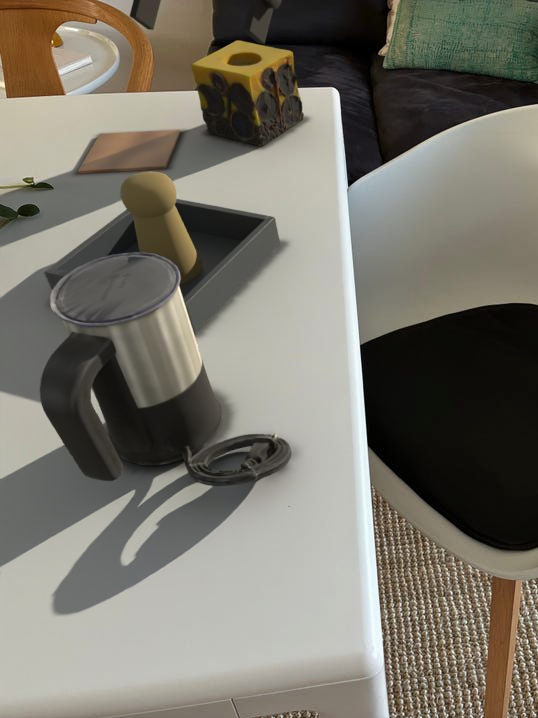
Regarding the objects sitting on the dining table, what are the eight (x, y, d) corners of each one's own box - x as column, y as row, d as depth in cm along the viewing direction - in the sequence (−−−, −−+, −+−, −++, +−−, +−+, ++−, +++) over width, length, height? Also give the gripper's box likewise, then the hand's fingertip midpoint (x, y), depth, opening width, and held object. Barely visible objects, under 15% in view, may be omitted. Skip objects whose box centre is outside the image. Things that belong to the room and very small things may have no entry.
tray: (57, 302, 80) (43, 271, 77) (156, 221, 92) (147, 193, 89) (195, 334, 76) (185, 303, 73) (281, 246, 88) (275, 216, 85)
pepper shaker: (147, 292, 81) (113, 198, 73) (141, 262, 85) (108, 170, 78) (206, 278, 82) (179, 185, 75) (197, 250, 87) (171, 158, 79)
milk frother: (128, 391, 70) (70, 252, 60) (305, 382, 71) (276, 243, 61) (79, 520, 59) (-2, 376, 49) (288, 507, 60) (249, 363, 50)
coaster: (78, 173, 101) (77, 170, 101) (100, 136, 109) (99, 133, 109) (165, 168, 102) (165, 166, 101) (180, 132, 110) (180, 129, 110)
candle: (251, 107, 116) (237, 38, 110) (306, 119, 113) (295, 50, 106) (205, 134, 109) (187, 63, 103) (262, 148, 106) (248, 75, 99)
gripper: (372, -142, 79) (322, 60, 78) (170, -151, 86) (123, 35, 85) (339, -199, 72) (284, 23, 71) (121, -204, 79) (70, -2, 78)
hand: (196, 30), depth 78 cm, fingers open, 13 cm apart
